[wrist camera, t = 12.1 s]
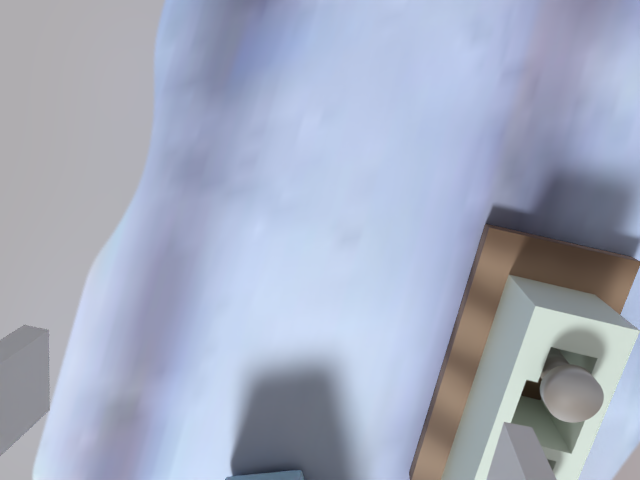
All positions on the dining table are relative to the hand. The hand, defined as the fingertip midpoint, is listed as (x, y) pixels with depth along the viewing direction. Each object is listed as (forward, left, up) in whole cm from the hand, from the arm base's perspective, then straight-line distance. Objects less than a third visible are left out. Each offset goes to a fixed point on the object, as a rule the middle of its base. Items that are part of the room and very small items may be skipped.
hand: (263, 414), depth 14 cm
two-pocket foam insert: (+12, +18, -28) cm, 35 cm away
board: (+10, +18, -29) cm, 36 cm away
